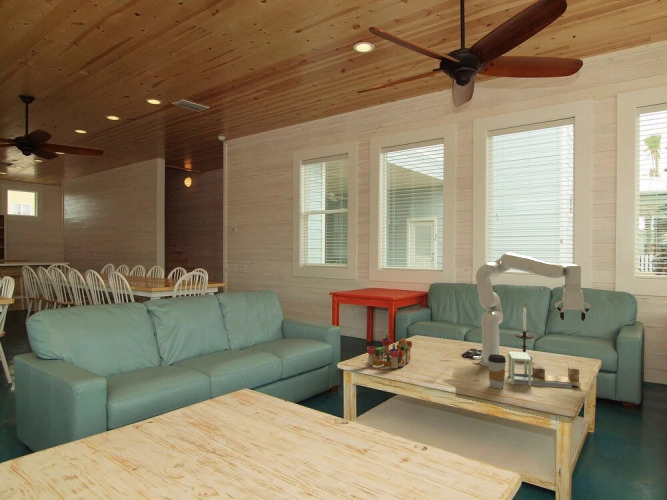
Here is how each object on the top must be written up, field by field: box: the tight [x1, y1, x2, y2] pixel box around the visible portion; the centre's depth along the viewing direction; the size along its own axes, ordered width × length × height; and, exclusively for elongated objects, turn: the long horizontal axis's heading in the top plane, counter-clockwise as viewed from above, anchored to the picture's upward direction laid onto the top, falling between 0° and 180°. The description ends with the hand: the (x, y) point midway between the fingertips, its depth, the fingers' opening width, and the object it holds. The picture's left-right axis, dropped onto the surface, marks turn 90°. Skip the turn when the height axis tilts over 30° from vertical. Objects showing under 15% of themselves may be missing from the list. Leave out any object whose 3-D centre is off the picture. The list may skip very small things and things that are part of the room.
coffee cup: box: [488, 354, 507, 389], centre depth 212 cm, size 8×8×15 cm
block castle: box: [366, 333, 413, 369], centre depth 258 cm, size 30×20×14 cm
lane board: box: [514, 372, 573, 389], centre depth 218 cm, size 26×12×2 cm, turn 74°
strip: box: [533, 366, 582, 387], centre depth 216 cm, size 20×10×7 cm, turn 74°
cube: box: [531, 365, 546, 379], centre depth 218 cm, size 5×5×5 cm
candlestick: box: [514, 302, 535, 361], centre depth 265 cm, size 11×11×35 cm
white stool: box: [507, 351, 532, 387], centre depth 221 cm, size 9×15×13 cm, turn 164°
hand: (572, 319), depth 228 cm, fingers open, 9 cm apart
